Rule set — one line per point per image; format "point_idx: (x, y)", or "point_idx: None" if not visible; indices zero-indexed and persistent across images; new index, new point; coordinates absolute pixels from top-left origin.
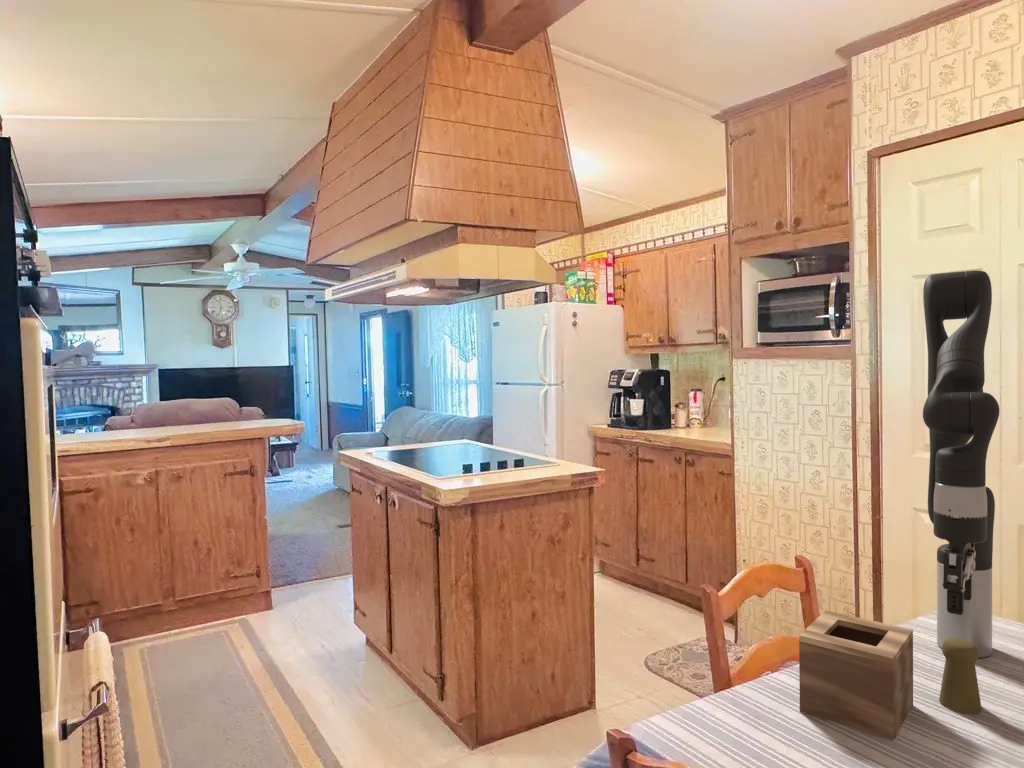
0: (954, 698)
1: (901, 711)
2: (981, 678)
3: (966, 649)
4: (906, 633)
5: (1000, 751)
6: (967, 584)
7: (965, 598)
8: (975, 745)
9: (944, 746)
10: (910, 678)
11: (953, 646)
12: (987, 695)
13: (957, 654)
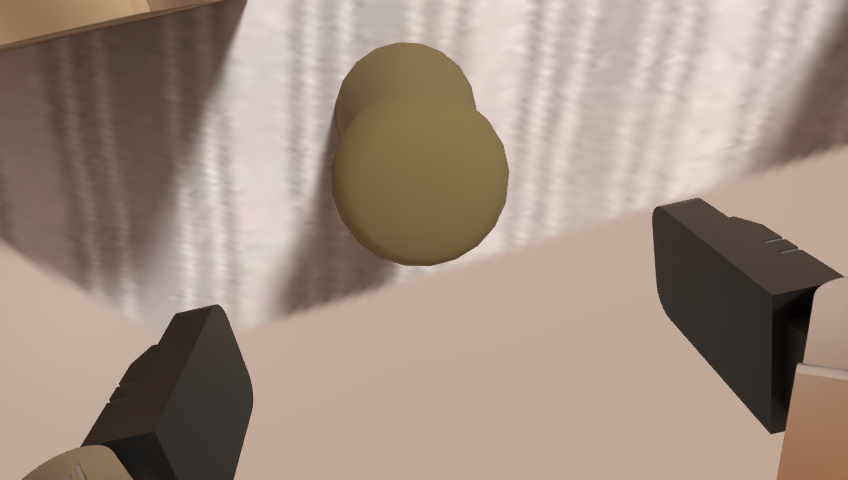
0: (339, 131)
1: (8, 49)
2: (711, 80)
3: (367, 244)
4: (7, 17)
5: None
6: (732, 364)
7: (661, 273)
8: (156, 255)
9: (55, 199)
10: (156, 14)
11: (346, 187)
12: (565, 149)
13: (335, 201)
